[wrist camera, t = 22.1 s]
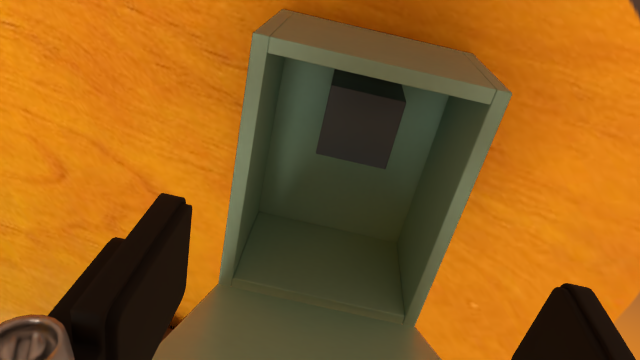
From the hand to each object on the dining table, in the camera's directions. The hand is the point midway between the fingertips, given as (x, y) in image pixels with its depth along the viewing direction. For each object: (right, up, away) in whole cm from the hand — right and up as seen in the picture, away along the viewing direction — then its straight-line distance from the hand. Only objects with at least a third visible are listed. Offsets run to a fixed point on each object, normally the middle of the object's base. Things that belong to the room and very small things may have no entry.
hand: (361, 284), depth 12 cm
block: (+2, +8, +19) cm, 21 cm away
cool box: (+1, +5, +21) cm, 22 cm away
